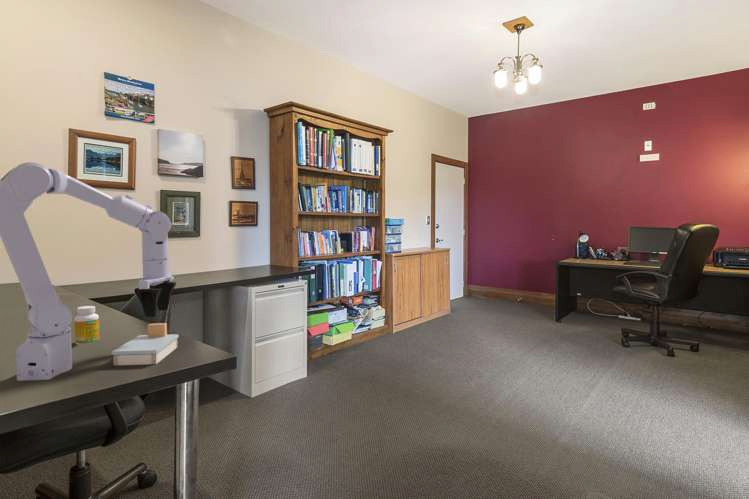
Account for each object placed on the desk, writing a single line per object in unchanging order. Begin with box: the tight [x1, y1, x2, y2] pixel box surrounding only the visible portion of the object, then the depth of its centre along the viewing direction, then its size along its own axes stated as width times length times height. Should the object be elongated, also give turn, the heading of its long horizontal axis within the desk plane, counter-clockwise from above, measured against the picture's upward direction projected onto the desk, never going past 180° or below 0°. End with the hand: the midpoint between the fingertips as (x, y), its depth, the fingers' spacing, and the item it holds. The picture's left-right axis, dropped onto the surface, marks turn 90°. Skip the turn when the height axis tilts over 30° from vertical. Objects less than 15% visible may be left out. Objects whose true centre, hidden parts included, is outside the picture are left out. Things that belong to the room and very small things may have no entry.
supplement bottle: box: [73, 305, 100, 346], centre depth 110 cm, size 5×5×10 cm
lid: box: [111, 322, 180, 356], centre depth 97 cm, size 13×9×4 cm
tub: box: [112, 337, 179, 366], centre depth 97 cm, size 13×9×3 cm
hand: (157, 313), depth 102 cm, fingers open, 7 cm apart
